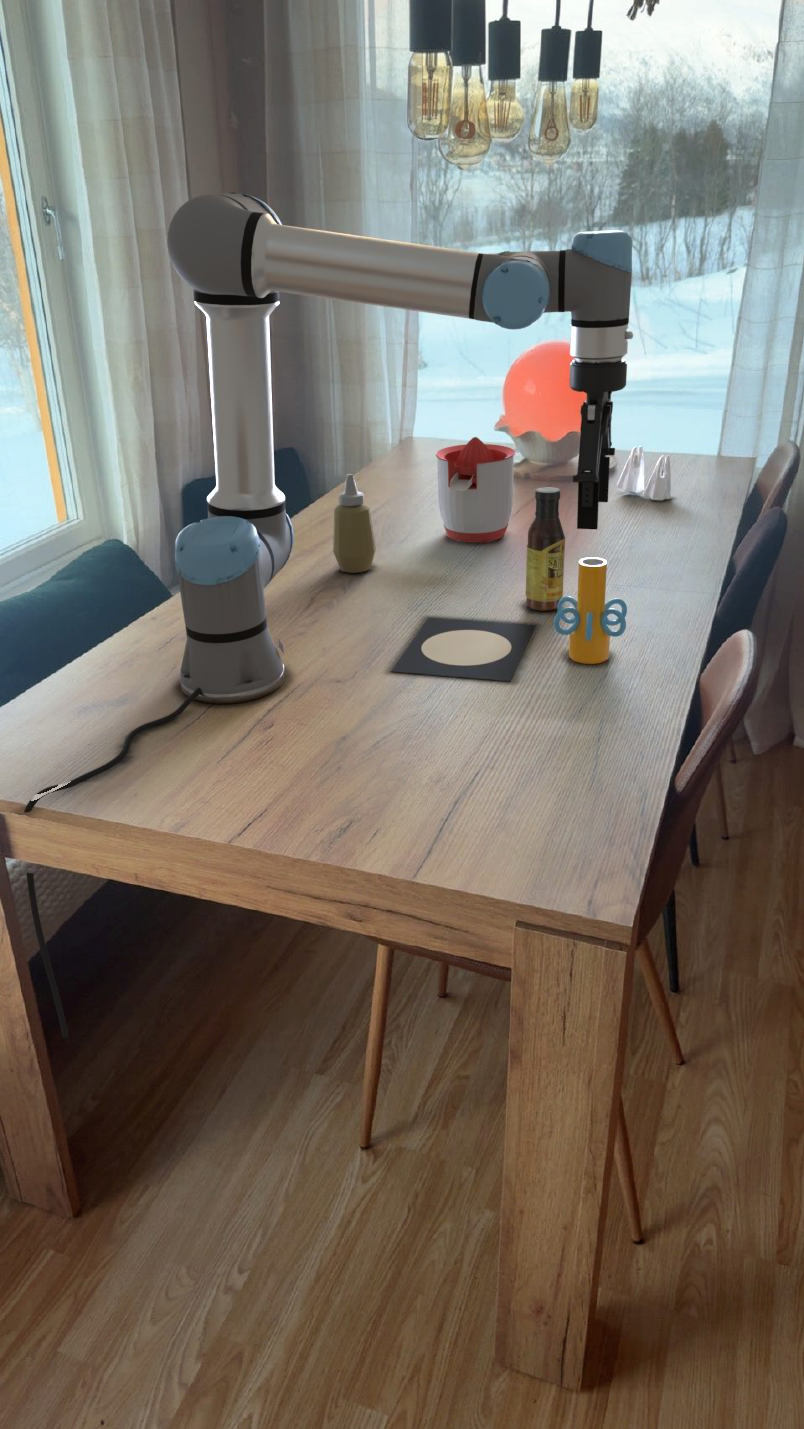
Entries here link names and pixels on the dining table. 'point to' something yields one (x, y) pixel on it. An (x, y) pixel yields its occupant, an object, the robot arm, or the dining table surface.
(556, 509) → the sauce bottle
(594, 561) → the cylinder
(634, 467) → the shaker set
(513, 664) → the mat
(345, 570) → the squeeze bottle
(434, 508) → the dining table surface
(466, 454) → the citrus juicer
